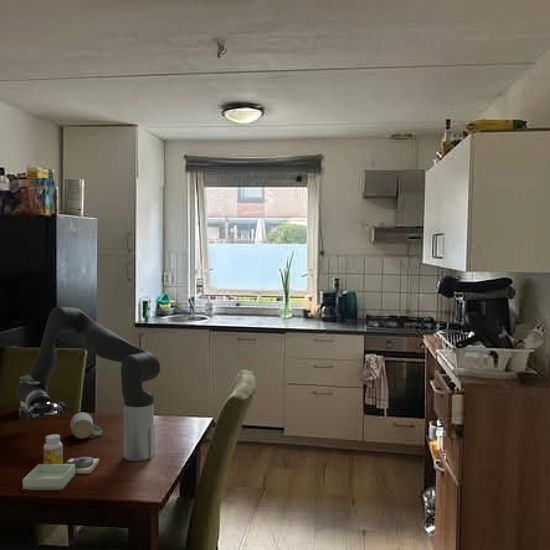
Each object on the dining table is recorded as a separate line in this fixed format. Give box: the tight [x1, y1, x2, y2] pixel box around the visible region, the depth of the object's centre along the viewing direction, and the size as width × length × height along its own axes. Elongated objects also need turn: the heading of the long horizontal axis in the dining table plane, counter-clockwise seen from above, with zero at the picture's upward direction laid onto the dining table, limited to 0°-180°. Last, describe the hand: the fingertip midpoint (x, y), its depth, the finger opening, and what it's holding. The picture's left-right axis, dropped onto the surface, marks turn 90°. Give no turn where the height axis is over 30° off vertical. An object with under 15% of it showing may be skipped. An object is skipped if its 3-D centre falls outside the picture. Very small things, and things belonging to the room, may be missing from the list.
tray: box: [22, 463, 76, 491], centre depth 155 cm, size 11×11×3 cm
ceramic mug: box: [69, 412, 103, 440], centre depth 194 cm, size 11×8×8 cm
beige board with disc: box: [64, 456, 100, 474], centre depth 166 cm, size 9×9×3 cm
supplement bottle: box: [43, 434, 64, 464], centre depth 165 cm, size 5×5×10 cm
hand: (46, 415), depth 175 cm, fingers open, 8 cm apart
